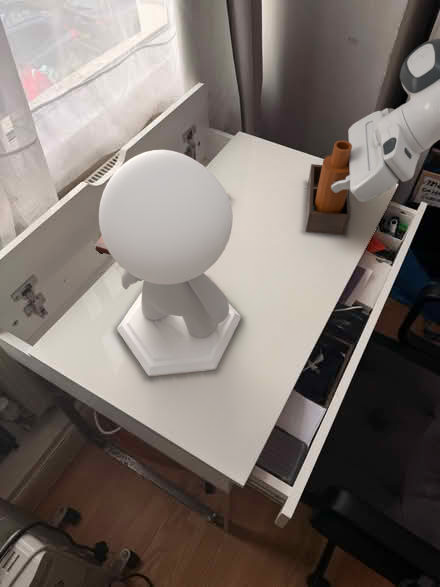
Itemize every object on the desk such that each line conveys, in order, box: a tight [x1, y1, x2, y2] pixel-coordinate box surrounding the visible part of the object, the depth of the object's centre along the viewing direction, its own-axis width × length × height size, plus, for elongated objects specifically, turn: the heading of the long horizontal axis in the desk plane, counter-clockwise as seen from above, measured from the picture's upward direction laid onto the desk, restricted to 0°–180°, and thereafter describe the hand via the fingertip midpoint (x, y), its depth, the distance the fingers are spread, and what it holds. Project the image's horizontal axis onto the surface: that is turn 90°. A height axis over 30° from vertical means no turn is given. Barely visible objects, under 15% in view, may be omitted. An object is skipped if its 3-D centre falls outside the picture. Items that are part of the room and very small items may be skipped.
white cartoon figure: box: [98, 149, 242, 377], centre depth 67 cm, size 20×23×35 cm
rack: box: [305, 163, 351, 236], centre depth 96 cm, size 8×16×6 cm, turn 171°
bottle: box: [314, 139, 352, 214], centre depth 87 cm, size 6×6×16 cm
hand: (332, 176), depth 87 cm, fingers closed on bottle, 6 cm apart
